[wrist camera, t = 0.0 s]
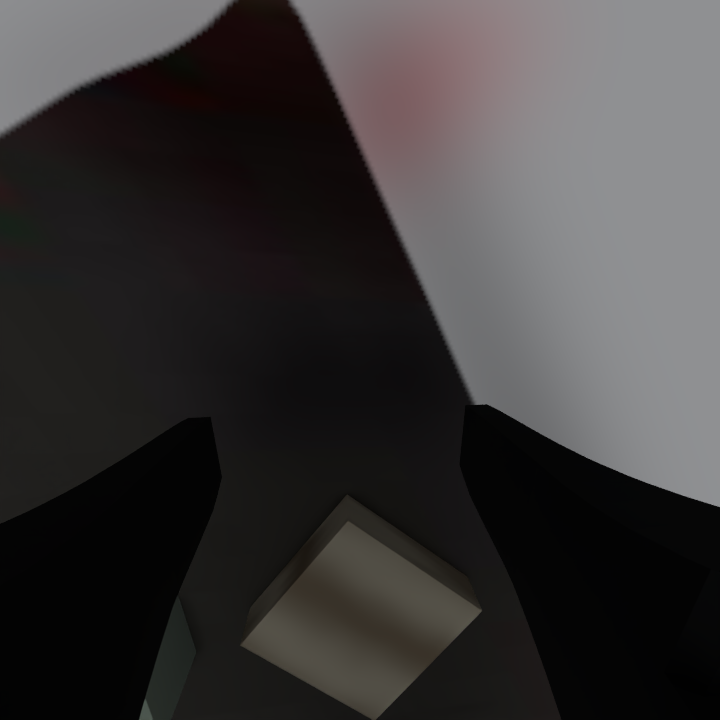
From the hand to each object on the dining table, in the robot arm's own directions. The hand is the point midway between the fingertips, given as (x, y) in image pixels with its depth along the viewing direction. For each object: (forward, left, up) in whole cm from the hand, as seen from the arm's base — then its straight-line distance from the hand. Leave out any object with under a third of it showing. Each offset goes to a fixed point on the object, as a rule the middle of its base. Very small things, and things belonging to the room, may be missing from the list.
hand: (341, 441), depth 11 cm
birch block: (-11, -10, -11) cm, 19 cm away
